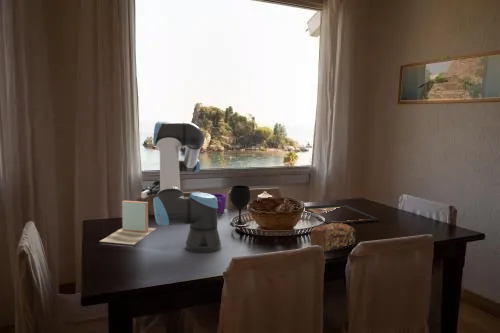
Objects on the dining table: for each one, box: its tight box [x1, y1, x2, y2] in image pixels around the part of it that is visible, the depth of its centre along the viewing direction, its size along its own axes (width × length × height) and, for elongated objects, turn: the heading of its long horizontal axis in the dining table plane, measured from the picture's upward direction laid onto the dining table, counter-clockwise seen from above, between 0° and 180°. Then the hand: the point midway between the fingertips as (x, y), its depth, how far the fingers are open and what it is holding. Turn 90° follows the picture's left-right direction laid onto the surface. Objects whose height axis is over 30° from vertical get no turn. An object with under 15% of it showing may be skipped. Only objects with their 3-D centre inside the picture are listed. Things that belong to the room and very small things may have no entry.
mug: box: [210, 193, 227, 215], centre depth 221 cm, size 17×11×10 cm, turn 22°
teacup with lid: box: [257, 191, 273, 200], centre depth 231 cm, size 12×9×12 cm
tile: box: [121, 200, 149, 232], centre depth 180 cm, size 2×12×14 cm, turn 81°
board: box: [99, 227, 157, 248], centre depth 175 cm, size 24×16×1 cm, turn 171°
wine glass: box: [229, 184, 251, 227], centre depth 199 cm, size 10×10×20 cm
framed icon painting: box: [304, 204, 378, 224], centre depth 225 cm, size 38×35×3 cm
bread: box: [310, 223, 357, 252], centre depth 171 cm, size 19×11×10 cm, turn 122°
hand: (142, 195), depth 188 cm, fingers closed
